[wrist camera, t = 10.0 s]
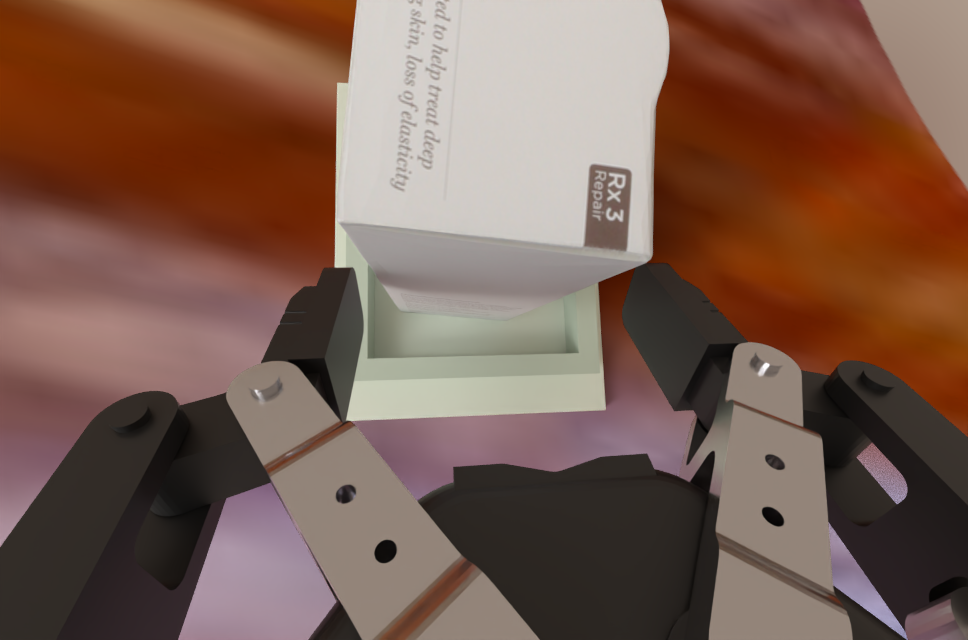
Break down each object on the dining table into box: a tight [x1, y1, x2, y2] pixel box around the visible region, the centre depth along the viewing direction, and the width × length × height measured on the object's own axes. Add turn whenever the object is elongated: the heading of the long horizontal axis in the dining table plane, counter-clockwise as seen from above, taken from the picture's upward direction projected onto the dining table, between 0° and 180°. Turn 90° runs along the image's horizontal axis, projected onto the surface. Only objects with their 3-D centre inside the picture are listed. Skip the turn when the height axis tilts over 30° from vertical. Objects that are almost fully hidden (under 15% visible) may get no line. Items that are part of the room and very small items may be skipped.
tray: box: [335, 83, 606, 421], centre depth 21 cm, size 14×18×3 cm
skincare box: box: [336, 0, 669, 321], centre depth 14 cm, size 8×6×15 cm
